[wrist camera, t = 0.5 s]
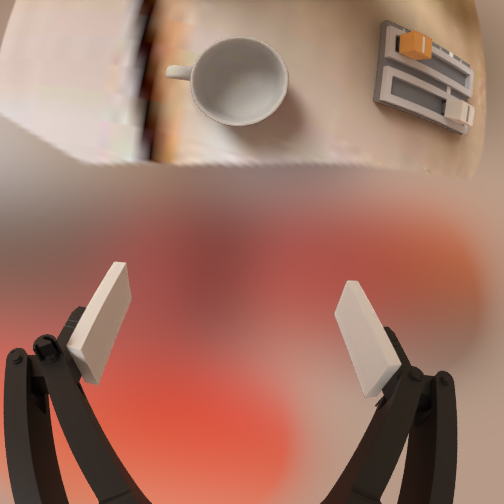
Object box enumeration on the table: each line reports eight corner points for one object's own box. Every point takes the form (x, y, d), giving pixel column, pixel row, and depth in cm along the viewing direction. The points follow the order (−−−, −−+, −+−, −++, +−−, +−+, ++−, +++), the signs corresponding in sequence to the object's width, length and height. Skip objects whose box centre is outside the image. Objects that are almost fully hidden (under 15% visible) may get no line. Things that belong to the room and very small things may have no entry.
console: (381, 22, 26) (390, 18, 24) (462, 65, 28) (474, 65, 25) (373, 101, 33) (383, 101, 30) (455, 133, 35) (466, 136, 32)
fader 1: (395, 36, 26) (415, 30, 21) (412, 43, 26) (432, 39, 21) (394, 53, 27) (414, 49, 23) (411, 60, 28) (431, 58, 23)
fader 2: (442, 97, 30) (463, 100, 26) (454, 104, 30) (475, 107, 26) (439, 115, 32) (460, 120, 27) (451, 121, 32) (472, 126, 27)
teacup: (291, 68, 31) (304, 58, 24) (259, 134, 36) (264, 141, 29) (197, 33, 28) (187, 17, 21) (166, 101, 33) (148, 100, 26)
